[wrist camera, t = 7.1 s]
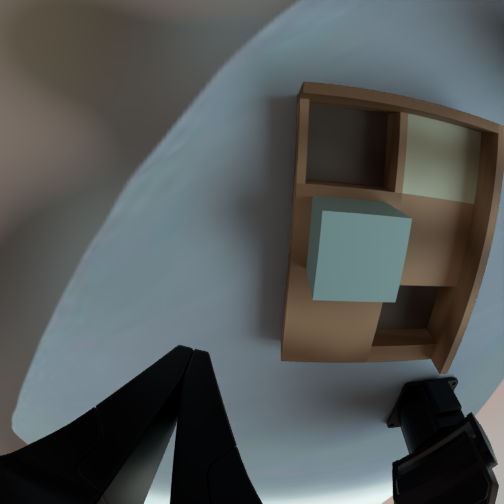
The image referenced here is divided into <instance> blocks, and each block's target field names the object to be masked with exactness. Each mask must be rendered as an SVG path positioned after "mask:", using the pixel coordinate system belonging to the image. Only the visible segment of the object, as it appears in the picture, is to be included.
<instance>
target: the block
mask: <svg viewBox="0 0 504 504" xmlns="http://www.w3.org/2000/svg"><path fill="white" fill-rule="evenodd" d="M411 223H412V218H411V217H409V216H407V215H406V214H404V213H403V212H401V211H399V210H398V209H396V208H394V207H393V206H391V205H390V204H388V203H386V202H378V201H368V200H358V199H346V198H334V197H321V196H313V198H312V211H311V223H310V235H309V246H308V256H307V266H306V270H307V275H308V280H309V284H310V289H311V294H312V299H313V300H324V301H354V302H396V298H397V294H398V289H399V285H400V281H401V276H402V271H403V267H404V262H405V257H406V252H407V246H408V241H409V235H410V229H411Z"/></svg>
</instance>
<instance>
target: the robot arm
mask: <svg viewBox="0 0 504 504" xmlns="http://www.w3.org/2000/svg"><path fill="white" fill-rule="evenodd" d="M457 384H458V380H457V378H448V379H440V380H432V381H423V382H412V383H407V384H406V385H405V386H404V387H403V389H402V392H401V394H400V396H399V398H398V401H397V403H396V405H395V407H394V409H393V411H392V413H391V415H390V417H389V419H388V421H387V427H388V428H394V427H401V430H402V433H403V436H404V439H405V442H406V445H407V448H408V451H409V455H407V456H405V457H404V458H402V459H400V460H397V461H395V462H393V463H392V466H393V470H392V477H393V500H394V504H495V501H496V497H497V492H498V488H499V485H498V482H497V480H496V477H495V475H494V472H493V470H492V468H493V467H495V466H496V465H498V463H497V460H496V457H495V454H494V452H493V449H492V446H491V444H490V442H489V440H488V438H487V436H486V434H485V432H484V430H483V428H482V427H481V425H480V424H479V422H478V421H477V419H476V418H475V416H474V415H473V414H472V412H471V413H469V414H468V415H467V417H464V415H463V413H462V411H461V408H462V407H461V405H460V403H459V401H458V399H457V397H456V395H455V393H454V392H453V391H454V389H455V387H456V386H457ZM176 423H177V429H176V439H175V449H174V460H173V471H172V483H171V497H170V504H262V502H261V500H260V498H259V497H258V495H257V493H256V491H255V489H254V487H253V485H252V483H251V481H250V479H249V477H248V475H247V472H246V470H245V467H244V464H243V462H242V459H241V456H240V453H239V450H238V448H237V447H236V442H235V439H234V436H233V433H232V430H231V426H230V423H229V420H228V417H227V414H226V410H225V407H224V404H223V400H222V397H221V394H220V390H219V387H218V384H217V380H216V377H215V373H214V370H213V366H212V362H211V359H210V355H209V353H208V352H206V351H202V350H198V349H194V350H193V349H192V348H190V347H186V346H182V345H178V346H177V347H175V348H174V349H173V350H171V351H170V352H169V353H167V354H166V355H165V356H163V357H162V358H161V359H159V360H158V361H157V362H155V363H154V364H153V365H151V366H150V367H149V368H147V369H146V370H144V371H143V372H142V373H140V374H139V375H138V376H136V377H135V378H134V379H132V380H131V381H130V382H128V383H127V384H125V385H124V386H123V387H121V388H120V389H119V390H117V391H116V392H114V393H113V394H112V395H110V396H109V397H108V398H106V399H105V400H103V401H102V402H101V403H99V404H98V405H96V408H95V407H93V408H92V409H91V410H89V411H88V412H86V413H85V414H83V415H82V416H80V417H79V418H77V419H76V420H74V421H73V422H71V423H70V424H68V425H66V426H64V427H63V428H61V429H59V430H57V431H55V432H53V433H52V434H50V435H48V436H46V437H44V438H42V439H40V440H37V441H35V442H33V443H31V444H29V445H27V446H25V447H23V448H21V449H19V450H17V451H14V452H12V453H9V454H6V455H1V456H0V504H144V501H145V499H146V497H147V494H148V492H149V489H150V487H151V484H152V482H153V479H154V477H155V475H156V472H157V470H158V467H159V465H160V462H161V460H162V458H163V455H164V453H165V450H166V448H167V445H168V443H169V441H170V438H171V436H172V433H173V431H174V428H175V426H176Z"/></svg>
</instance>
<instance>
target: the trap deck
mask: <svg viewBox="0 0 504 504" xmlns="http://www.w3.org/2000/svg"><path fill="white" fill-rule="evenodd" d="M503 171H504V126H502V125H500V124H497V123H494V122H492V121H489V120H486V119H483V118H480V117H477V116H474V115H471V114H468V113H465V112H462V111H459V110H455V109H452V108H448V107H445V106H441V105H438V104H434V103H430V102H426V101H422V100H418V99H413V98H409V97H405V96H400V95H395V94H390V93H385V92H379V91H374V90H368V89H362V88H355V87H348V86H341V85H333V84H324V83H314V82H303V84H302V86H301V89H300V91H299V93H298V101H297V128H296V150H295V169H294V187H293V203H292V218H291V232H290V246H289V259H288V271H287V283H286V294H285V305H284V315H283V326H282V336H281V361H293V362H388V361H408V360H423V359H431V360H432V361H433V363H434V365H435V367H436V368H437V370H438V372H439V374H447V372H448V370H449V368H450V366H451V364H452V361H453V359H454V357H455V355H456V352H457V350H458V347H459V345H460V343H461V340H462V338H463V335H464V333H465V330H466V327H467V325H468V322H469V319H470V316H471V314H472V311H473V308H474V305H475V302H476V299H477V296H478V293H479V289H480V286H481V283H482V279H483V276H484V272H485V269H486V265H487V261H488V257H489V253H490V249H491V244H492V240H493V235H494V230H495V225H496V220H497V214H498V209H499V202H500V195H501V188H502V180H503ZM313 196H321V197H334V198H346V199H358V200H368V201H378V202H386V203H388V204H390V205H391V206H393V207H394V208H396V209H398V210H399V211H401V212H403V213H404V214H406V215H407V216H409V217H411V218H412V223H411V229H410V235H409V241H408V246H407V252H406V257H405V262H404V267H403V271H402V276H401V281H400V285H399V289H398V294H397V298H396V302H354V301H324V300H313V299H312V294H311V289H310V284H309V280H308V275H307V270H306V266H307V256H308V246H309V235H310V223H311V211H312V198H313Z"/></svg>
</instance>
